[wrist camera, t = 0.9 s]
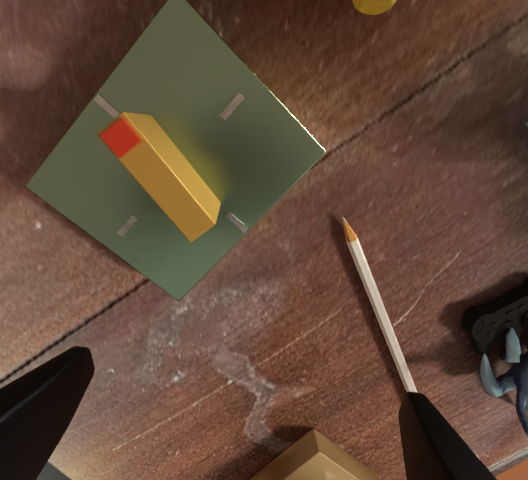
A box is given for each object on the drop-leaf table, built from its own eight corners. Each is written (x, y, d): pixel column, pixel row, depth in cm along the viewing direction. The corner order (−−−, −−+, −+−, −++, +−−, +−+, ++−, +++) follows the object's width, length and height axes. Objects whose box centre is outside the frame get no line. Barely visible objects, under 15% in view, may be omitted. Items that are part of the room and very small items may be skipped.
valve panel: (186, 279, 22) (178, 303, 19) (55, 177, 19) (22, 187, 16) (315, 148, 20) (328, 152, 17) (186, 10, 17) (175, -14, 14)
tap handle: (221, 203, 18) (215, 226, 14) (201, 218, 18) (189, 245, 14) (150, 114, 16) (120, 110, 12) (129, 131, 16) (92, 134, 12)
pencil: (413, 411, 27) (417, 418, 27) (335, 217, 21) (338, 220, 21) (422, 407, 27) (426, 414, 27) (346, 212, 21) (350, 215, 21)
